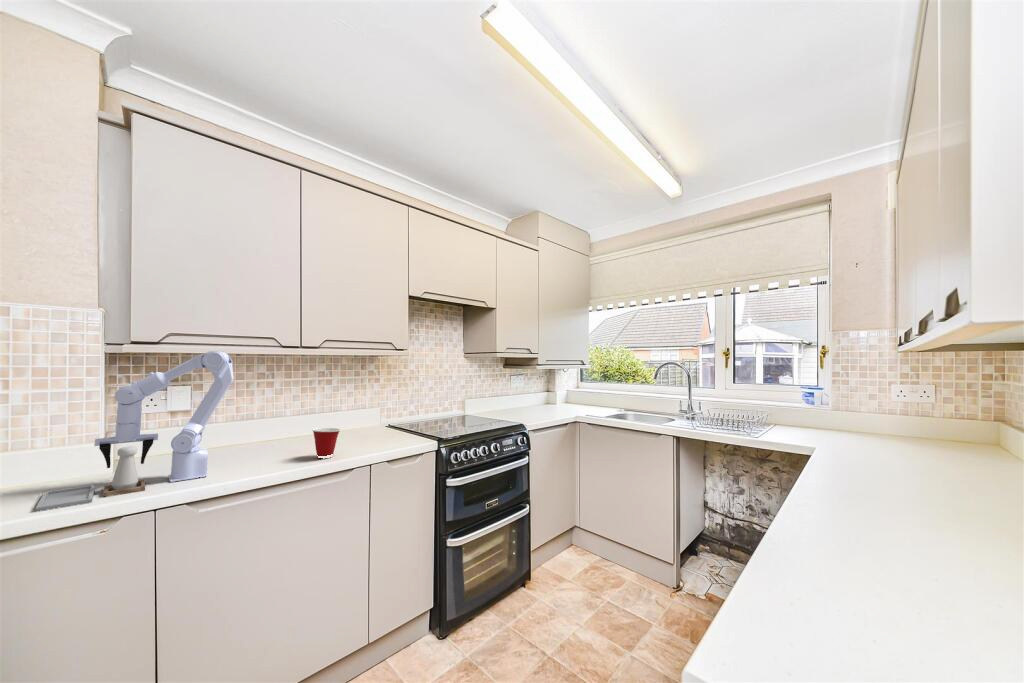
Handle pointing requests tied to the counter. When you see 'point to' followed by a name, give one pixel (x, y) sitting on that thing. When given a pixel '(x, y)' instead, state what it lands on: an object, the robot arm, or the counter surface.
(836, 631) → the counter surface
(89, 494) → the grey tray
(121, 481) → the salt shaker
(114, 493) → the walnut collar
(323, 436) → the plastic cup
